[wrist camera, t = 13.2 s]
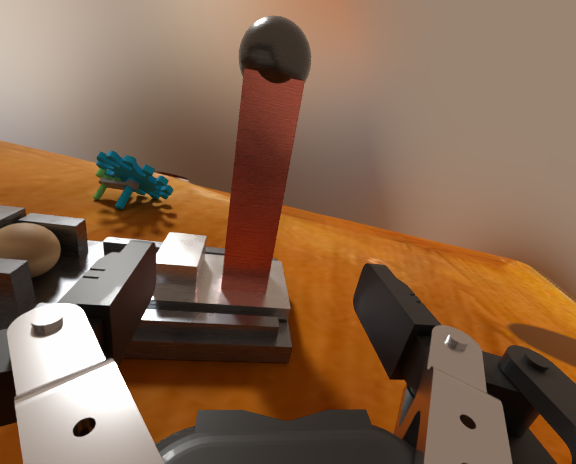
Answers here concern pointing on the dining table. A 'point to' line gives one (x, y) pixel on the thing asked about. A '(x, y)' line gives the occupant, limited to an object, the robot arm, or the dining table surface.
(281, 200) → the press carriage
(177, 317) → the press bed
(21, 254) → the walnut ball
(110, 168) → the gear
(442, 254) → the dining table surface
